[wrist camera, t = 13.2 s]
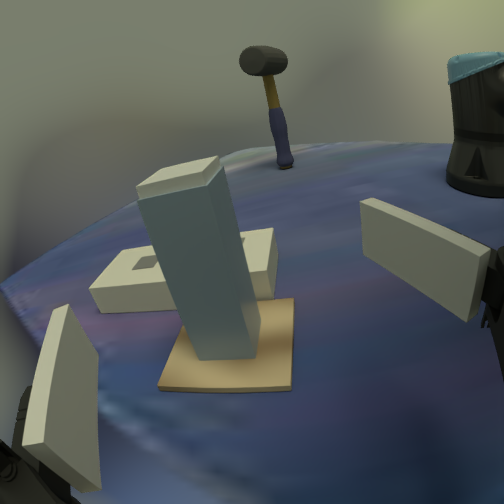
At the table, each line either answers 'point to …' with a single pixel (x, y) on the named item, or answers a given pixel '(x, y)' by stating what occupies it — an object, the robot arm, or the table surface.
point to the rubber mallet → (270, 93)
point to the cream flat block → (155, 287)
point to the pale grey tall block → (202, 257)
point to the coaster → (241, 370)
